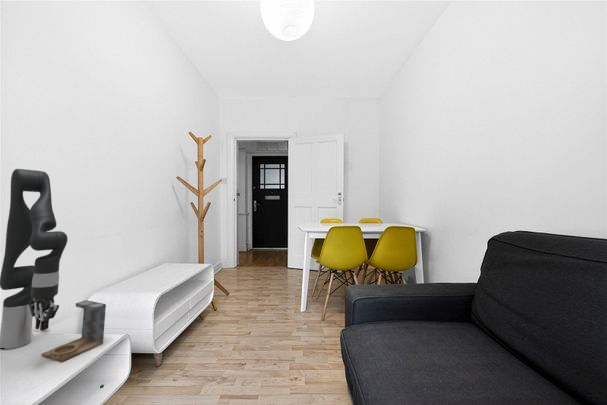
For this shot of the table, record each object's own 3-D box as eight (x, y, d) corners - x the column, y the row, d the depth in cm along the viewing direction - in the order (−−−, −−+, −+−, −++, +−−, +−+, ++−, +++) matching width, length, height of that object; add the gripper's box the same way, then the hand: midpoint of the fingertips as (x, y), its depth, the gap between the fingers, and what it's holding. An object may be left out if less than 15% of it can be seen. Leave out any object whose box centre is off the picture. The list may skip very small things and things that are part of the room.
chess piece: (39, 337, 101) (41, 310, 101) (28, 334, 102) (30, 308, 102) (53, 331, 106) (55, 305, 106) (43, 329, 107) (45, 303, 107)
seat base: (40, 356, 109) (44, 312, 109) (83, 338, 124) (86, 300, 125) (61, 362, 105) (64, 317, 106) (103, 343, 121) (105, 304, 121)
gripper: (21, 283, 103) (17, 329, 102) (46, 289, 99) (42, 337, 98) (45, 278, 110) (41, 321, 110) (69, 283, 106) (65, 328, 106)
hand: (41, 328), depth 104 cm, fingers closed on chess piece
